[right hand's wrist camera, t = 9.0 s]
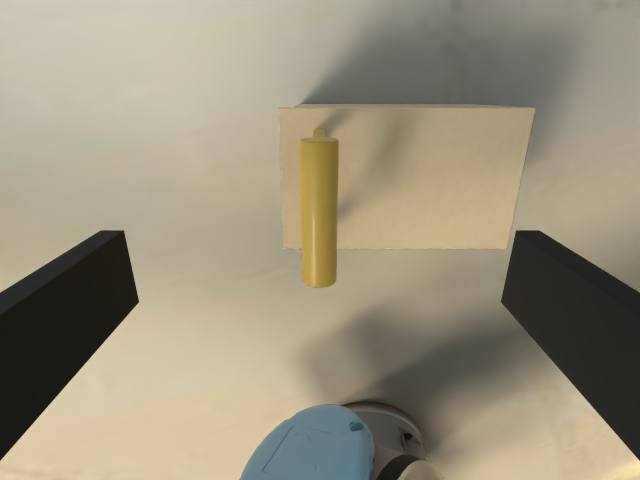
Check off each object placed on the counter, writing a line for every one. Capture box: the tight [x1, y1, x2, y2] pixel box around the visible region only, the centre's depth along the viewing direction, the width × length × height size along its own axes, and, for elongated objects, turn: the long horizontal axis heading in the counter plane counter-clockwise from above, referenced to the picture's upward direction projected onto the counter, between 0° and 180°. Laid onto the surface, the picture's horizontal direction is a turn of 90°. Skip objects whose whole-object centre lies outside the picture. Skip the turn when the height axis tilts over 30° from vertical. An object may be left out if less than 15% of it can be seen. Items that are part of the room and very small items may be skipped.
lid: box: [278, 107, 536, 288], centre depth 21 cm, size 16×10×9 cm, turn 90°
